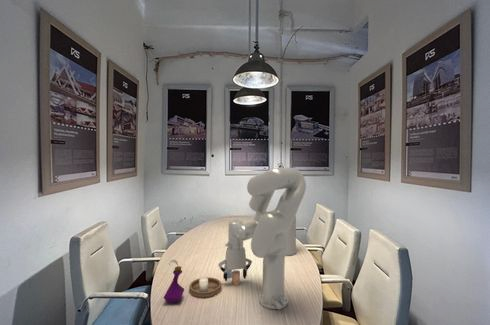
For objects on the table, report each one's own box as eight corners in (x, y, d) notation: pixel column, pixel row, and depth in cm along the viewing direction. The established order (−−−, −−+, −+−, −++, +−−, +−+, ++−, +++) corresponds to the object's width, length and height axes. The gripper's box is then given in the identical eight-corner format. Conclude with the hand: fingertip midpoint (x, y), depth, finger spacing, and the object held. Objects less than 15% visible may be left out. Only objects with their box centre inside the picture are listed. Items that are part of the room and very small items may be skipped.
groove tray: (223, 295, 118) (223, 290, 118) (190, 300, 114) (190, 295, 114) (218, 280, 132) (218, 275, 132) (188, 284, 128) (188, 279, 128)
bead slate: (232, 277, 136) (232, 266, 136) (225, 278, 134) (225, 267, 134) (230, 274, 139) (230, 263, 139) (223, 275, 138) (223, 264, 138)
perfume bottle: (184, 295, 118) (184, 256, 117) (181, 305, 110) (180, 263, 110) (168, 296, 117) (167, 257, 117) (163, 305, 110) (163, 263, 110)
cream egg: (208, 293, 118) (208, 280, 118) (199, 295, 117) (199, 281, 117) (207, 289, 122) (207, 276, 122) (198, 290, 121) (198, 278, 121)
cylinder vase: (295, 256, 164) (295, 217, 164) (276, 255, 167) (276, 217, 166) (295, 249, 177) (296, 213, 176) (277, 248, 179) (277, 213, 179)
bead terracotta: (240, 285, 128) (240, 273, 127) (233, 286, 126) (233, 274, 126) (238, 281, 131) (238, 269, 131) (231, 282, 130) (231, 270, 130)
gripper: (220, 249, 123) (219, 284, 123) (254, 246, 128) (253, 280, 128) (217, 244, 130) (216, 277, 130) (249, 241, 135) (249, 273, 135)
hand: (235, 278), depth 129 cm, fingers open, 9 cm apart
